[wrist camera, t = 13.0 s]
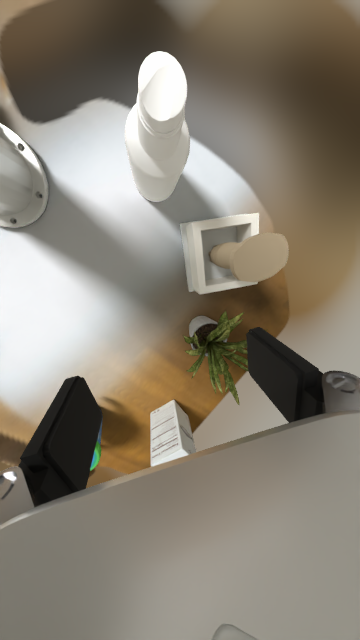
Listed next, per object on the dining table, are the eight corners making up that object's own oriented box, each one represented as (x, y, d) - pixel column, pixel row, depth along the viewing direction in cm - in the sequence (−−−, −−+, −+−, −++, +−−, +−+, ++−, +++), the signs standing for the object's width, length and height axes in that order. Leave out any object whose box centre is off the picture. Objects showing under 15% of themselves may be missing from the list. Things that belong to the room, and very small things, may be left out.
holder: (179, 224, 32) (186, 219, 27) (244, 214, 33) (263, 207, 28) (188, 290, 37) (195, 298, 31) (245, 280, 38) (261, 286, 32)
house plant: (243, 340, 43) (293, 390, 28) (190, 367, 44) (212, 430, 29) (222, 286, 38) (271, 312, 23) (161, 317, 38) (170, 363, 23)
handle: (196, 247, 33) (229, 245, 19) (229, 235, 33) (286, 225, 19) (203, 273, 35) (238, 289, 21) (235, 261, 35) (290, 269, 21)
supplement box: (188, 415, 49) (200, 467, 37) (164, 428, 49) (169, 484, 38) (174, 397, 46) (183, 448, 35) (149, 412, 47) (149, 466, 35)
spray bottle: (183, 169, 30) (229, 69, 13) (163, 211, 31) (181, 170, 15) (144, 139, 27) (138, -26, 11) (125, 185, 29) (95, 104, 13)
